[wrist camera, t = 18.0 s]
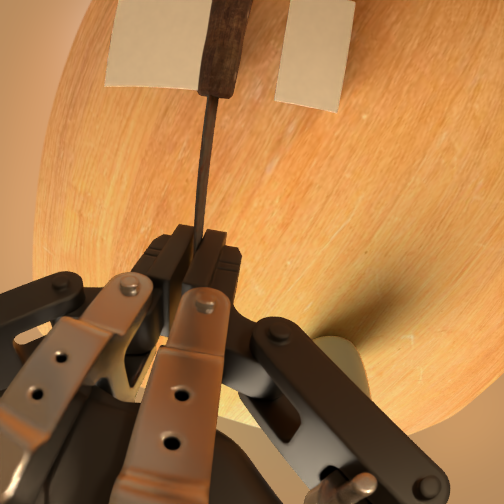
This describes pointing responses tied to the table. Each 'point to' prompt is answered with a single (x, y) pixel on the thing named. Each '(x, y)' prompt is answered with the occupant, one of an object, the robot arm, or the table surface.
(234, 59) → the knife
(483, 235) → the table surface
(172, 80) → the cake
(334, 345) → the cup
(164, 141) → the table surface
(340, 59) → the slice
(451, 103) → the table surface
